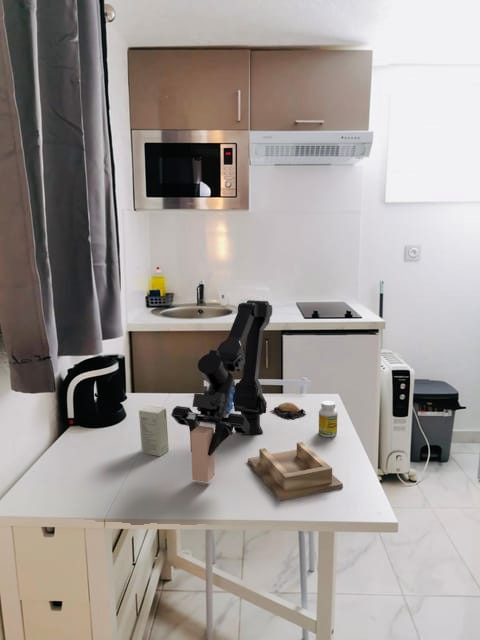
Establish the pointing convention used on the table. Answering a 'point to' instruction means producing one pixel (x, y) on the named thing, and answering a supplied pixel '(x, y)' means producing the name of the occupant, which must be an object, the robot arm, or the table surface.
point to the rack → (294, 472)
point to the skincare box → (153, 430)
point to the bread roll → (288, 411)
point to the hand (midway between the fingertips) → (200, 453)
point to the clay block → (202, 454)
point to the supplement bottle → (328, 419)
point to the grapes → (230, 401)
